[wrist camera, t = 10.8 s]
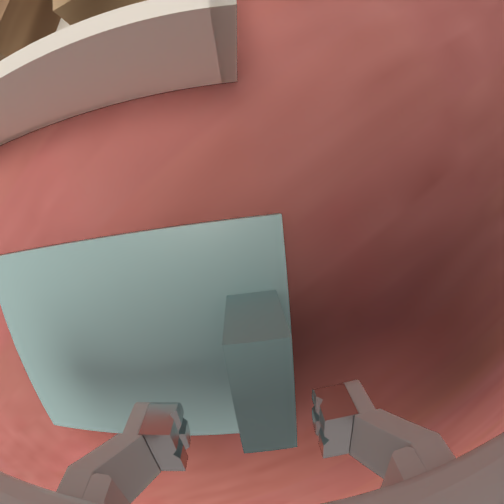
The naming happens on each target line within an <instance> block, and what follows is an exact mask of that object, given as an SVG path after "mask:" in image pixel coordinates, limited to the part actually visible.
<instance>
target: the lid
mask: <svg viewBox="0 0 504 504" xmlns="http://www.w3.org/2000/svg"><path fill="white" fill-rule="evenodd" d="M0 304H1V308H2V311H3V314H4V317H5V320H6V322H7V325H8V328H9V331H10V334H11V336H12V339H13V341H14V344H15V346H16V349H17V351H18V354H19V356H20V358H21V361H22V363H23V365H24V368H25V370H26V372H27V374H28V376H29V378H30V381H31V383H32V385H33V387H34V389H35V391H36V393H37V395H38V397H39V399H40V400H41V402H42V404H43V406H44V408H45V410H46V412H47V413H48V415H49V417H50V419H51V420H52V422H53V424H54V425H58V426H64V427H70V428H77V429H84V430H92V431H100V432H110V433H123V430H124V428H125V425H126V423H127V421H128V418H129V416H130V413H131V411H132V408H133V406H134V404H135V403H136V402H179V403H181V404H182V407H183V410H184V414H183V418H184V419H186V420H187V421H188V425H189V429H190V435H218V434H234V433H240V438H241V442H242V447H243V451H244V453H253V452H263V451H272V450H279V449H287V448H293V447H297V425H296V403H295V384H294V366H293V350H292V334H291V320H290V306H289V293H288V281H287V269H286V257H285V246H284V235H283V224H282V214H281V213H276V214H267V215H258V216H249V217H241V218H232V219H224V220H216V221H208V222H201V223H193V224H186V225H178V226H171V227H164V228H157V229H150V230H143V231H136V232H130V233H123V234H117V235H110V236H104V237H98V238H91V239H85V240H79V241H73V242H68V243H62V244H56V245H50V246H45V247H39V248H34V249H28V250H23V251H18V252H13V253H7V254H2V255H0Z"/></svg>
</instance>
